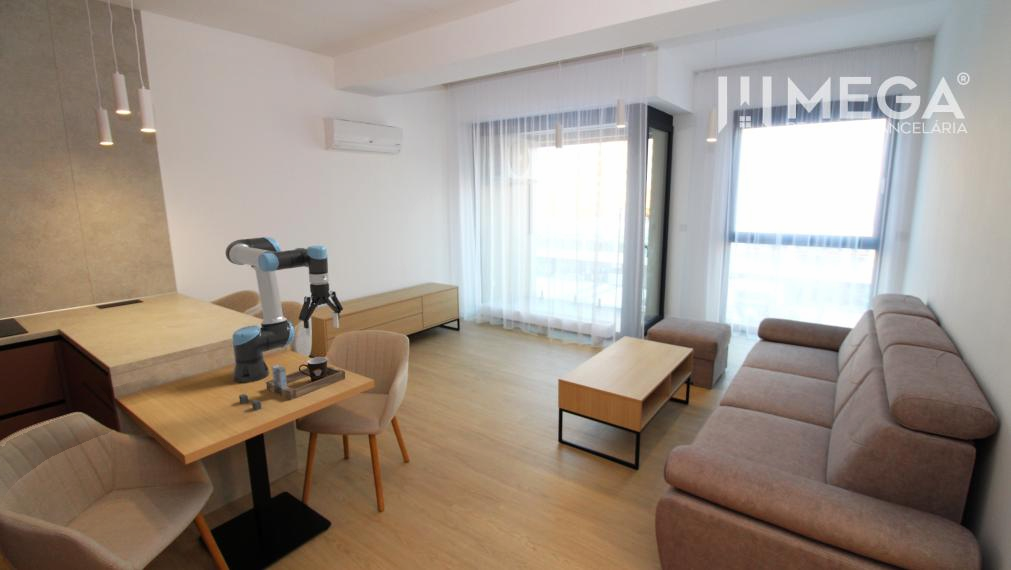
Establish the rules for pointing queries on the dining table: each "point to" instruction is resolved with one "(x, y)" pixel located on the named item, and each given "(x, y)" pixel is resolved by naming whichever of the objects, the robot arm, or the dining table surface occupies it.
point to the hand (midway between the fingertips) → (322, 331)
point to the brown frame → (282, 379)
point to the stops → (255, 404)
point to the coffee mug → (316, 368)
